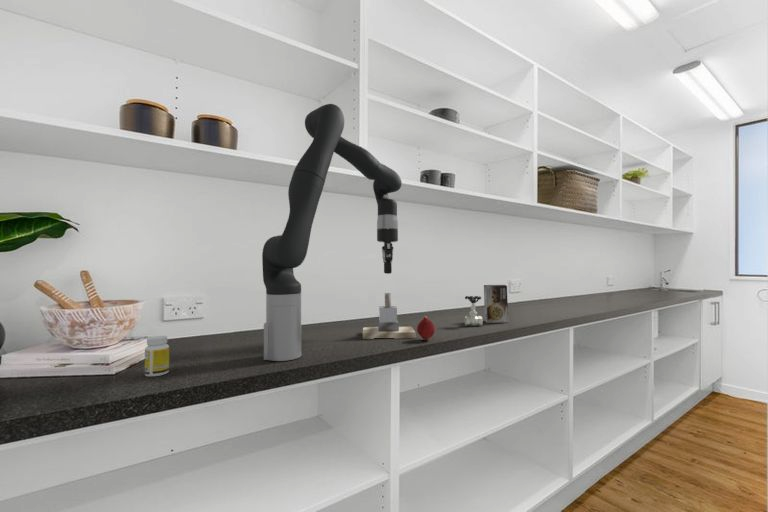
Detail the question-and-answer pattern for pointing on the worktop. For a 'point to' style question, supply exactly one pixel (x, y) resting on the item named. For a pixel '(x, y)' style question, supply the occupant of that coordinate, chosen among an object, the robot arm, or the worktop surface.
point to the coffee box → (495, 303)
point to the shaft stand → (388, 327)
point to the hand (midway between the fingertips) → (387, 273)
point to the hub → (387, 314)
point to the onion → (426, 328)
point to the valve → (473, 313)
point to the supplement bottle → (156, 356)
